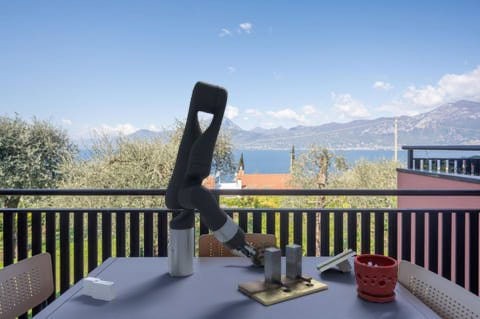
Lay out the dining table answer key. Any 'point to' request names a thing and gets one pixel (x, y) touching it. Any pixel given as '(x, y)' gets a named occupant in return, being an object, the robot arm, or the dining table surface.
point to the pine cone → (260, 250)
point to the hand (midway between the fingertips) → (258, 264)
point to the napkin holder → (99, 289)
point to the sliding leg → (273, 266)
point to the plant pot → (376, 277)
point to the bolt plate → (289, 292)
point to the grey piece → (338, 261)
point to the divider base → (289, 278)
